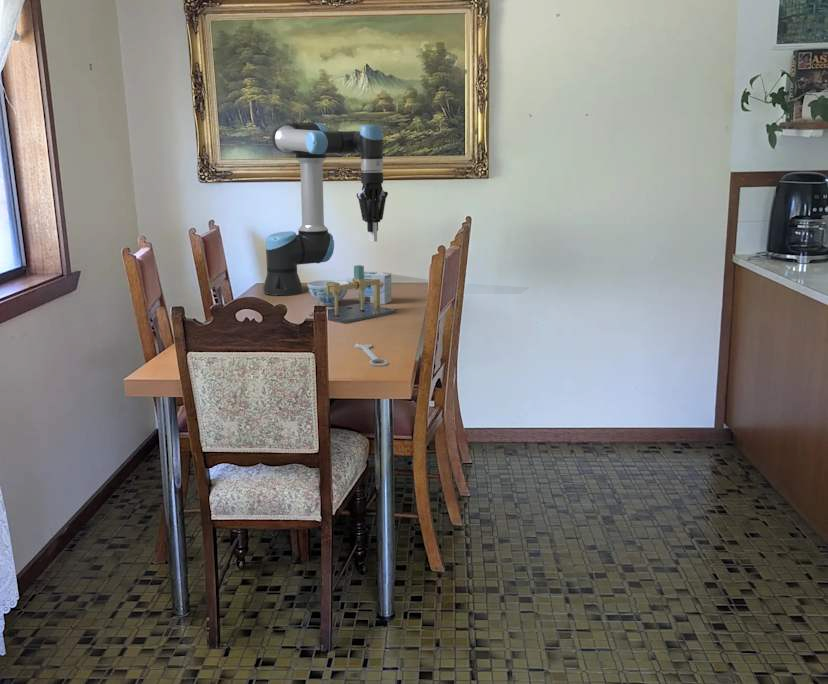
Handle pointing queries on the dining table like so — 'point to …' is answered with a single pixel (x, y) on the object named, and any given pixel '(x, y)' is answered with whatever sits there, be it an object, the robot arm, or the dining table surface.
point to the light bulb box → (384, 287)
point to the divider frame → (336, 288)
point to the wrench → (371, 355)
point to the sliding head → (360, 282)
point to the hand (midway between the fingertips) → (372, 241)
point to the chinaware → (325, 292)
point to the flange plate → (357, 313)
